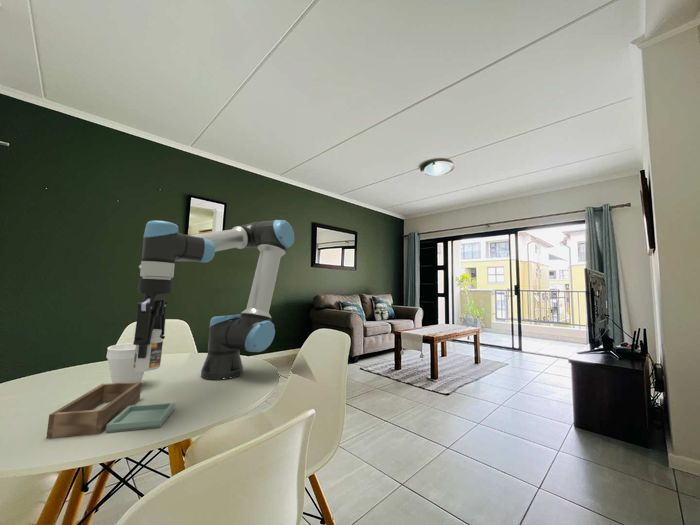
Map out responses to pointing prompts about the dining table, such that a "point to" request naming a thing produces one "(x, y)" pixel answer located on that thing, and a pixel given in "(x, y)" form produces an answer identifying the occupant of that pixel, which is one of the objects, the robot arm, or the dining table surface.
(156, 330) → the pill bottle
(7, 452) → the dining table surface
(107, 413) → the caddy
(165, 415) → the tray
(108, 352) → the white flower pot
